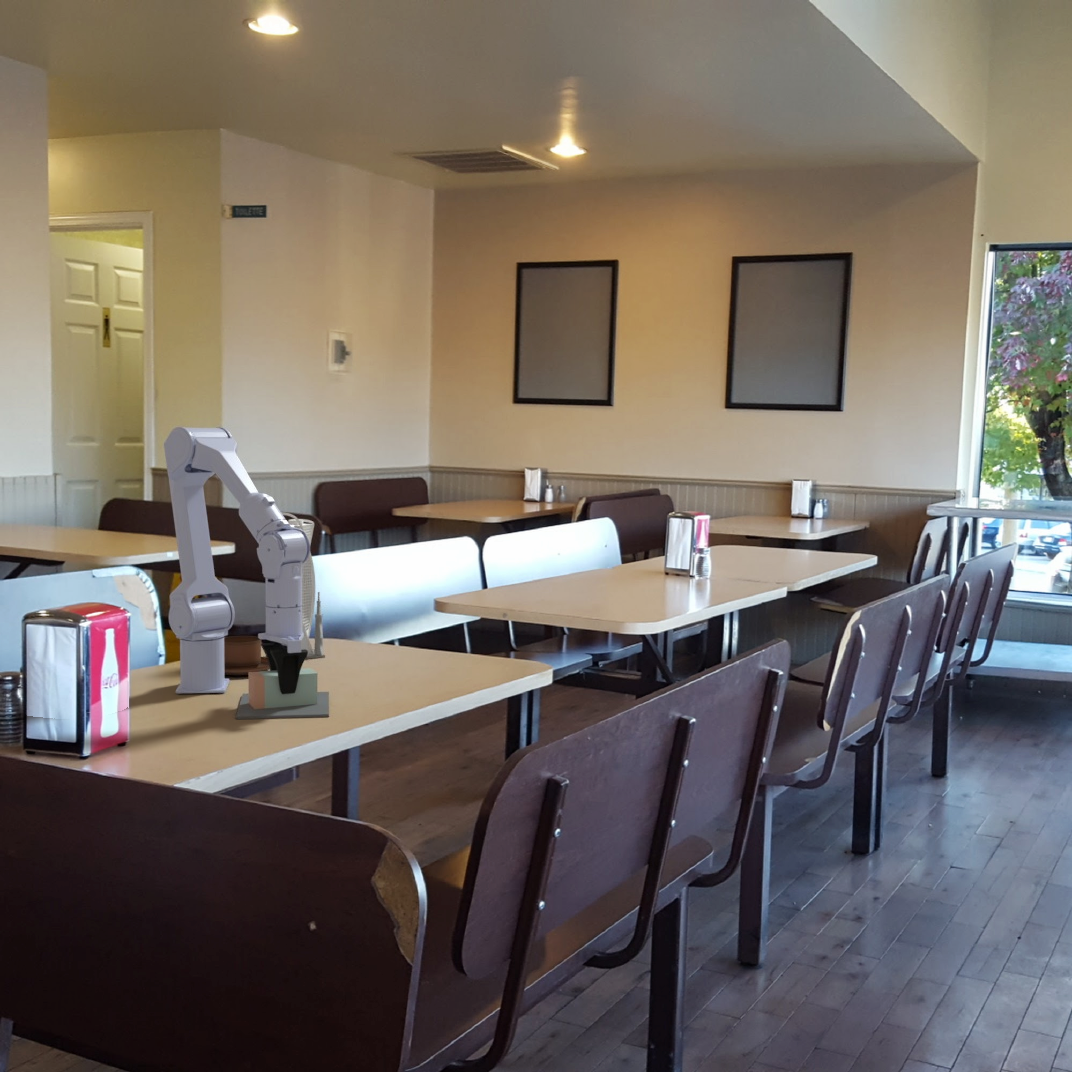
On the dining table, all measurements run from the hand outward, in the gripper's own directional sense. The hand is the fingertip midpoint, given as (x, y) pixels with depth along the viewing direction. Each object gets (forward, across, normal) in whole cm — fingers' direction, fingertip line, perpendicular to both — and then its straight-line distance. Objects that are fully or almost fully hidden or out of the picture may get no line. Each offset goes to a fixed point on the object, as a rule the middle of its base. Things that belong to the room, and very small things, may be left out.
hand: (284, 689), depth 195 cm
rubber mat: (+3, 0, 0) cm, 3 cm away
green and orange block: (+2, 0, 0) cm, 2 cm away
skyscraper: (+3, -41, +12) cm, 43 cm away
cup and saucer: (+3, -29, -1) cm, 30 cm away
